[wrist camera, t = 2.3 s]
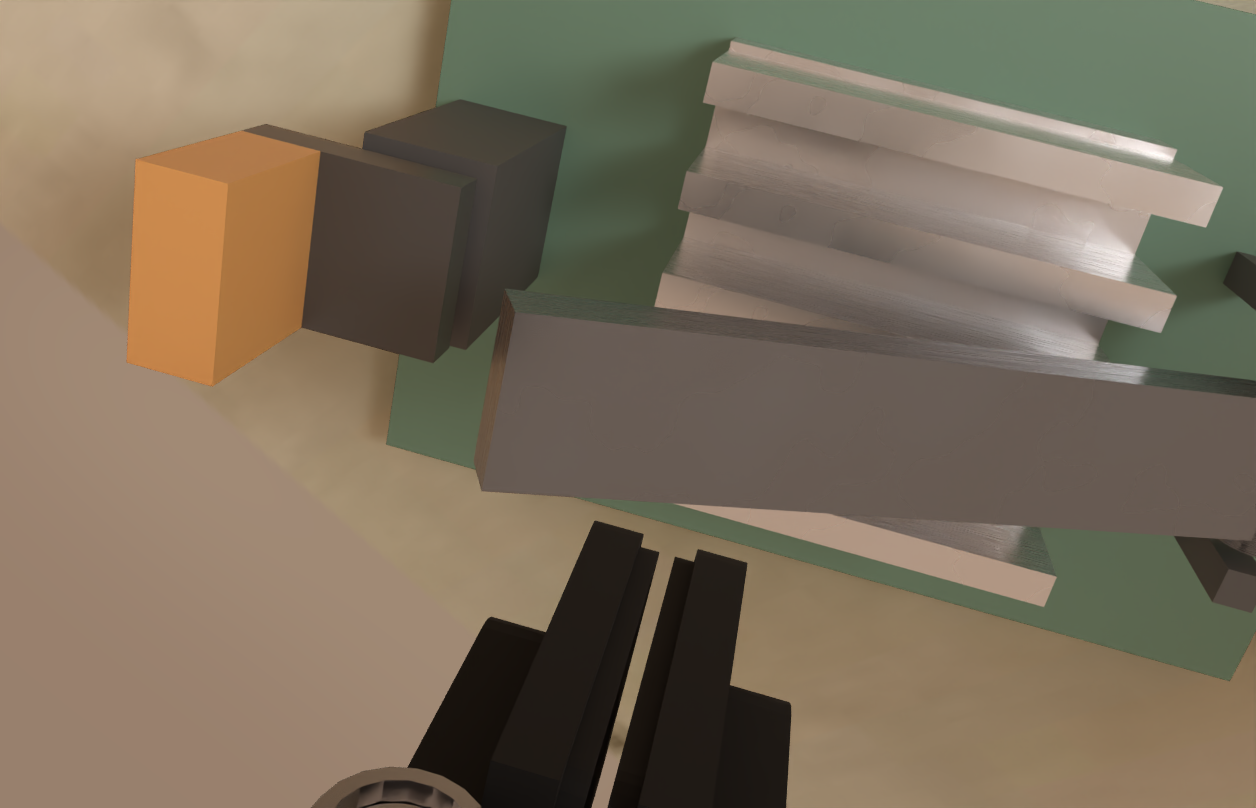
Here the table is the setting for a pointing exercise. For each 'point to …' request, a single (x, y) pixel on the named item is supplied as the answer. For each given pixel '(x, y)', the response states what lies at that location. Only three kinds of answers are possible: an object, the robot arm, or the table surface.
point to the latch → (290, 251)
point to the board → (654, 226)
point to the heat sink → (920, 248)
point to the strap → (857, 424)
